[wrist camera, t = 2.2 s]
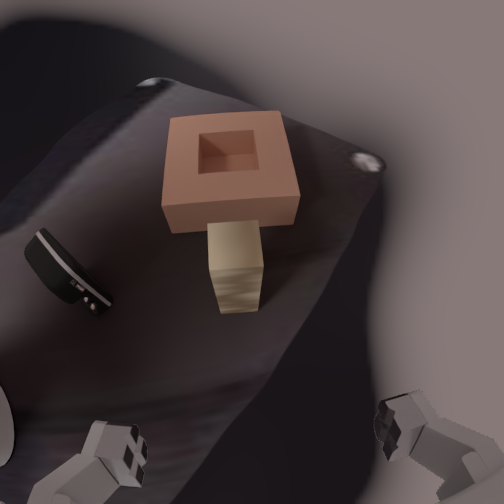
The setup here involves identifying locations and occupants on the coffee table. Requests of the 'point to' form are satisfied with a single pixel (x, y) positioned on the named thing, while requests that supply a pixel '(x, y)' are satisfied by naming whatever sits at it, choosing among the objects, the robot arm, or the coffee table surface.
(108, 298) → the battery charger
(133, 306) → the coffee table surface
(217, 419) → the coffee table surface
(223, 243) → the maple pin
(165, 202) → the terracotta socket block
